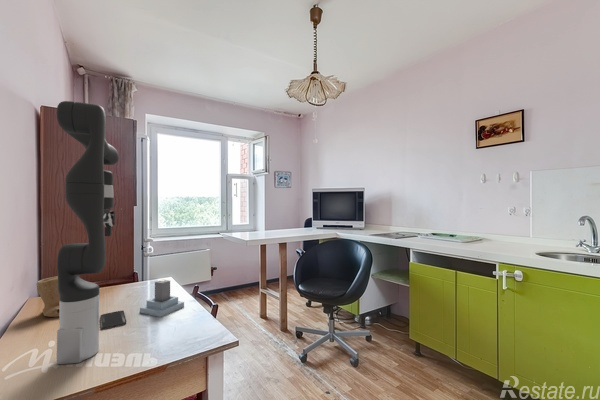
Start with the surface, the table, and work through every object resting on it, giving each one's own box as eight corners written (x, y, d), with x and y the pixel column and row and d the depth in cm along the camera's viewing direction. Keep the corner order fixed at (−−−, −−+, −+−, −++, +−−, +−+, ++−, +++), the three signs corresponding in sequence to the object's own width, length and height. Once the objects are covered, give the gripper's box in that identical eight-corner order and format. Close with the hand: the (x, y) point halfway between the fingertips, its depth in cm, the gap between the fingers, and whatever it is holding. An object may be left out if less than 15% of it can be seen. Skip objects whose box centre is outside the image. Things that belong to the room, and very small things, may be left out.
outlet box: (184, 306, 119) (184, 296, 119) (160, 317, 108) (160, 305, 108) (164, 302, 123) (164, 292, 123) (139, 312, 112) (139, 301, 112)
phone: (123, 310, 113) (126, 322, 101) (123, 312, 113) (126, 325, 101) (100, 314, 108) (100, 328, 96) (100, 317, 108) (100, 331, 96)
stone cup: (36, 311, 114) (37, 275, 114) (73, 304, 122) (73, 271, 122) (35, 322, 103) (35, 283, 103) (75, 314, 111) (76, 277, 111)
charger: (170, 303, 116) (170, 279, 117) (162, 307, 113) (162, 282, 113) (162, 302, 118) (162, 278, 118) (154, 305, 114) (154, 281, 115)
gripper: (101, 196, 101) (100, 239, 101) (121, 197, 115) (121, 235, 115) (79, 196, 100) (79, 239, 100) (102, 197, 115) (102, 235, 114)
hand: (101, 237), depth 108 cm, fingers open, 8 cm apart
